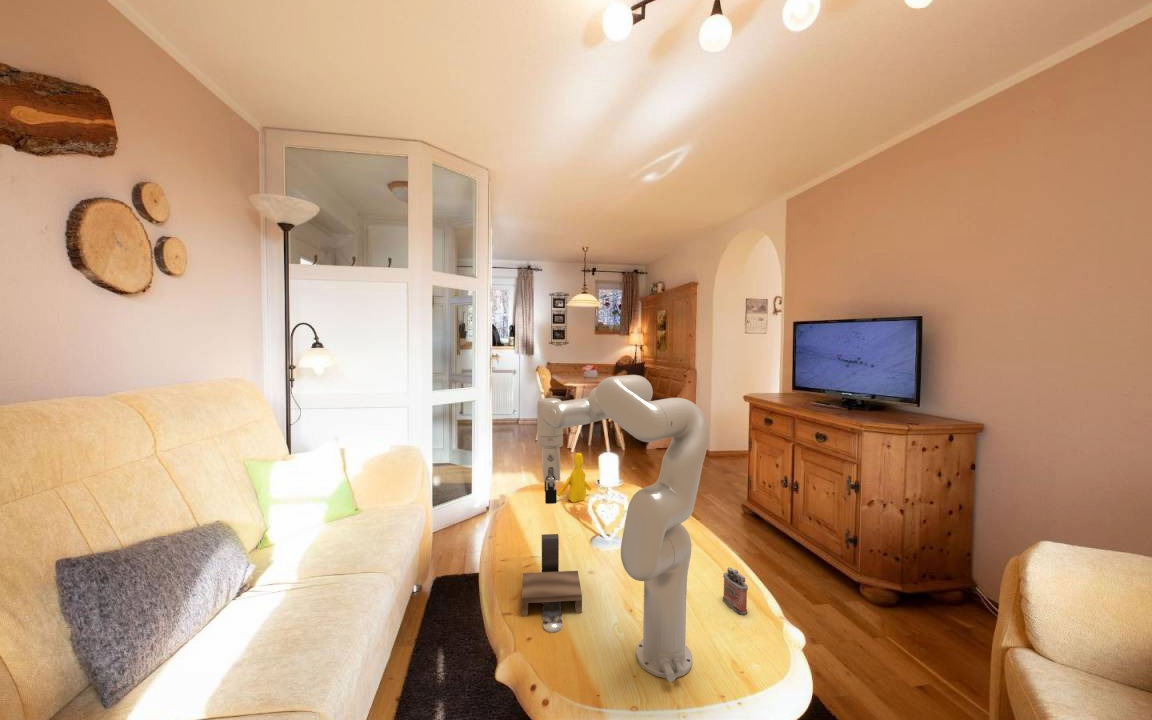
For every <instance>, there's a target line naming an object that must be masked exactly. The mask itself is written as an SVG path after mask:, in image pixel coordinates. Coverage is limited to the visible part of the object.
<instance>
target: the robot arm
mask: <svg viewBox="0 0 1152 720" xmlns="http://www.w3.org/2000/svg"><path fill="white" fill-rule="evenodd" d="M653 390H654V389H653V387H652V383H651V382H649V380H648V379H647V378H645V377H644V376H642V375H639V374H638V375H637V374H627V375H617V376H616V375H615V376H609V377H606V378H605V379H602V380H601V381H600V382H599V383H598V385H597V386H596V387H594V388H593V389H592V390H591V391H590V392H589V393H588V396H587V397H583V398H578V399H577V398H576V399H569V400H561V398H555V397H545V398H541V399H539V400H538V401H537V406H536V409H537V412H536V414H537V417H536V418H537V421H536V422H537V424H536V426H537V429H536V430H537V431H536V432H537V434H536V435H537V447H538V448H541V469H542V478H543V481H544V492H545V493H544V494H545V495H544V498H545V499H544V501H545V504H546V505H550V504H551V505H553V504H556V503H557V499H558V497H557V496H558V495H557V493H558V492H557V487H556V486H557V483H556V481H558V482H560V481H561V452H560V450H561V449H560V448H561V447H563V446H564V435H563V434H564V433H563V432H564V429H567V428H568V429H569V428H572V427H577V426H583V425H588V424H593V423H595V422H599V421H603V420H608V419H610V420H612V421H613V422H614V423H615V424H617V425H618V426H620V428H622V429H623V430H624V431H626V433H628V434H629V435H631V436H632V437H634V438H635V439H637V441H638V440H639V441H640V442H644V443H655V442H658V441H662V440H663V441H664V440H667V439H670V438H671V441H670V444H669V445H668V447H667V449H666V451H665V453H664V455H663V457H662V460H661V461H662V462H661V465H660V466H661V467H660V471H659V475H658V478H657V480H656V482H654V483H652V484H650V485H648V486H645V487H643V488H641V489H639V490H638V491H636V492H635V493H634V494H633V495H632V498H631V499H630V501H629V503H628V507H627V511H626V516H625V521H624V527H623V532H622V538H621V543H620V558H621V564H622V566H623V568H624V570H625V572H626V574H628V576H629V577H630V578H631V579H633V580H635V581H638V582H643V617H642V618H643V621H642V622H643V630H642V631H643V632H642V633H643V634H642V635H643V636H642V637H643V638H642V639H641V640H640V641H638V644H637V646H636V650H635V652H636V654H635V656H636V660H637V662H638V663H639V665H640V667H642V668H643V669H644V671H646V672H648V673H649V674H651V675H653V676H655V677H658V678H664V679H666V680H667V681H668V682H669V683H672V682H675V680H676V679H677V678H680V677H683V676H685V675H686V674H688V673H689V672H690V670H691V669H692V666H693V655H692V652H691V650H690V648H689V647H688V646H687V645H686V637H687V635H686V632H687V630H686V629H687V628H686V627H687V591H688V590H687V587H688V574H689V573H688V572H689V566H690V562H691V557H692V556H691V555H692V539H691V536H690V533H689V531H688V530H687V528H686V527H685V526H684V525H683V523H685V522H686V521H688V520H689V519H690V517H691V516H692V515H693V512H694V508H695V504H696V501H697V495H698V491H699V486H700V482H701V476H702V475H701V474H702V469H703V465H704V461H705V457H706V455H707V454H706V453H707V452H708V451H707V449H708V446H709V439H710V434H709V433H710V432H709V425H708V422H707V419H706V417H705V414H704V413H703V411H702V410H701V409H700V407H699V406H698V405H697V404H695V402H693V401H691V400H689V399H686V398H683V397H669V398H664V399H662V398H661V399H657V400H652V399H653V395H654V394H653V393H654V391H653Z"/></svg>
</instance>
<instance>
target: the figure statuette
mask: <svg viewBox="0 0 1152 720" xmlns="http://www.w3.org/2000/svg"><path fill="white" fill-rule="evenodd" d="M573 463H574V468H573V470H572V472H570V475H569V477H567V480H566V481H565V483H563V484H564V485H562V487H561V488H560V489H559V491H558V492H557V496H558V497H559V498H560V497H561V495H562V494H563V493H564V491H565V490H566V489H567V488H568V486H569V488H568V494H567V495H568V498H567V499H568V501H570V502H571V503H577V502H581V501H585V500H586V496H587V490H588V492H589V491H590V492H591V490H592V487H591V486H590V485H589V484H588V482H587V481H586V473H585V472H584V469H583V468H582V466H583V464H584V456H583V454H582V453H581V452H575V453H574V456H573ZM586 489H587V490H586Z"/></svg>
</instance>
